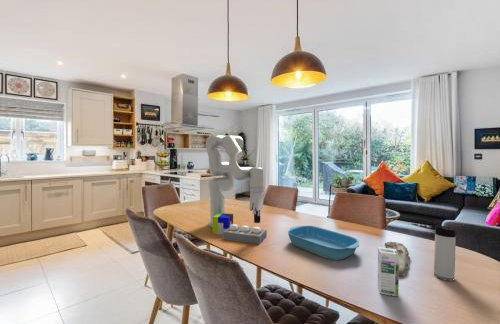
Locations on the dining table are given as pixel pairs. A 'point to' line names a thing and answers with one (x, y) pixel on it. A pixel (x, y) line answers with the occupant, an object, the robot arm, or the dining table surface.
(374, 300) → the dining table surface
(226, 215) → the puzzle toy
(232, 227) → the button
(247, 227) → the middle button
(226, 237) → the button board
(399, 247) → the long grey stone
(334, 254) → the casserole dish
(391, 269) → the syrup box
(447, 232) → the travel mug
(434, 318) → the dining table surface
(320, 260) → the dining table surface
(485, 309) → the dining table surface
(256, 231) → the button
